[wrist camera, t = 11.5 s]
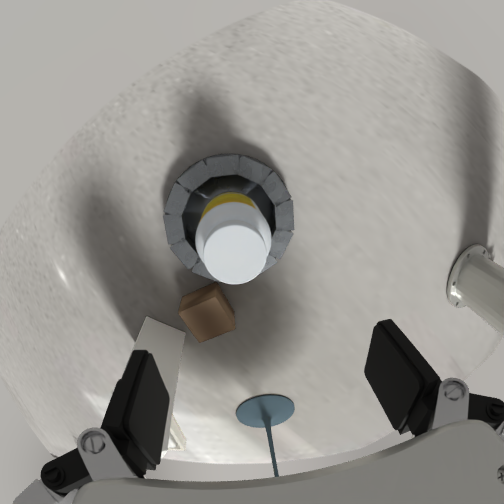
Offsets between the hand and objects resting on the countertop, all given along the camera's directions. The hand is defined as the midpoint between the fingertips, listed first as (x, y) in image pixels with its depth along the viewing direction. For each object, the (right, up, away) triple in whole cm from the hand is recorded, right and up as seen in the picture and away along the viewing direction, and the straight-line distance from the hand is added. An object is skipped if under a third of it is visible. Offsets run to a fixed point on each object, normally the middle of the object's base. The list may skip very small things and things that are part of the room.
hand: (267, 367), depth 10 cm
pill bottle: (-3, +8, +20) cm, 22 cm away
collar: (-3, +9, +21) cm, 22 cm away
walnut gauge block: (-6, -2, +24) cm, 25 cm away
